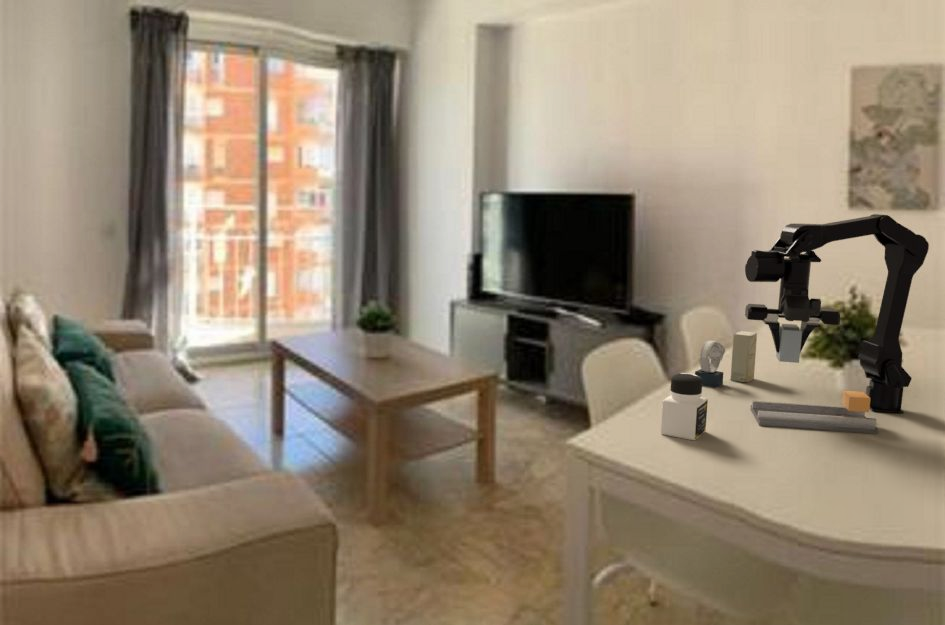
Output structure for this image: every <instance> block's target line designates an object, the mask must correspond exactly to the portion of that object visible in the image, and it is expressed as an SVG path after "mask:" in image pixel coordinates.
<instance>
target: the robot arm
mask: <svg viewBox="0 0 945 625" xmlns="http://www.w3.org/2000/svg"><path fill="white" fill-rule="evenodd" d="M871 235H873V236H874V238H875V240H876V241H877V242H878V243H879V244H880V245H881V246H883V247H884V262H885V265H886V269H887V277H886V281H885V285H884V290H883V296H882V298H881V303H880V308H879V312H878V317H877V321H876V325H875V331H874V334H873V336H872V337H871V338H870V339H869V341H866V340H862V342H861V344H860V352H859V354H858V356H857V358H858V359H859V365H860V367H861V368H862V370H863V371H864V375H865V378H866V379H869V385H867V386H866V388H865V389H866V390H865V394H866V395H868V396H869V397H870V408H869V410H871V411H872V412H883V413H895V414H896V413H897V414H904V413H905V412H904V409H902V404H903V396H904V388H907V387H909V386H910V383H911V382H912V376H910V374H909V373H908V372H907V371H906V370H905V369H904V367H903V366H902V365H903V351H902V348H901V343H900V340H899V339H900V334H901V332H902V331H901V330H902V325H903V321H904V317H905V312H906V309H907V304H908V301H909V300H908V299H909V295H910V290H911V286H912V281H913V278H914V275H915V274H916V273H917V272H918V270H920V268H921V267H922V266H923V265H924V262H925V260H926V257H927V254H928V253H929V247H930V246H929V245H930V244H929V242H928V240H927V239H926V237H925V236H923V235H921V234H916V233H915V232H914V231H913V230H911V229H909V228H908V227H906V226H904V225H902V224H901V223H899V222H898V221H896V220H895V219H894V218H892V217H891V216H890V215H887V214H877V213H876V214H875V213H873V214H871V215H868V216H863V217H862V216H861V217H857V218H850V219H845V220H839V221H833V222H827V223H823V224H822V223H789V224H786V225H785V226H784V227H783V229H782V231H781V233H780V236H779V237H778V239H777V240H776V241H775V242H774V243H773V245H771V247H770V248H769V250H763V251H762V250H759V249H752V250H751V255H750V256H749V257H748V259H747V261H746V263H745V266H744V272H745V277H746V279H747V281H748V282H750V283H777V282H779V280H780V284H779V295H778V306H777V308H768V306H766V305H765V304H761V303H748V304H746V306H745V312H744V313H745V314H744V316H745V318H746V319H747V320H749V321H750V320H751V321H762V322H763V323H764V324H765V325H768V328H769V330H770V332H771V336H772V340H773V345H774V348H775V351H776V352H779V347H780V341H779V327H780V326H781V322H779V321H778V319H779V318H781V319H785V321H787V322H793V321H796V322H800V327H799V329H801V330H802V338H801V348H800V354H801V352H802V351H803V348H804V347H805V344H806V342H807V340H808V339H809V337H810V335H811V334H812V332H813V331H814V330H815V329H817V328H821V324H820V323H821V322H822V323H823V325H831V326H840V325H841V324H840V323H841V313H840V312H839V311H837V310H836V309H834V308H833V307H832V308H831V307H830V308H828V307H822V300H821V299H820V298H814V297H813V298H810V297H809V286H810V277H811V276H810V274H811V264H812V263H821V262H822V259H821V258H820V257H819V256H818V255H817V254H816V252H815V251H814V250H816V249H819V248H822V247H824V246H825V245H827V244H829V243H832V242H837V241H843V240H849V239H855V238H860V237H865V236H867V237H868V236H871Z"/></svg>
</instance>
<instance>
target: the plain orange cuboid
mask: <svg viewBox="0 0 945 625" xmlns="http://www.w3.org/2000/svg"><path fill="white" fill-rule="evenodd" d="M842 392H843V393H842V400H841V402H842V403H841V404H842V407H845V408H846V409H847V410H848V411H859V412H865V413H869V412H870V397H869V396H868V395H866V392H864V391H857V390H856V391H855V390H843V391H842Z"/></svg>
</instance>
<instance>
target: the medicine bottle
mask: <svg viewBox="0 0 945 625" xmlns="http://www.w3.org/2000/svg"><path fill="white" fill-rule="evenodd" d="M669 392H670V393H669V394H670V395H668V397H666V398H665V399H663V400H662V408H661V424H660V434H661V435H664V436H668V437H669V436H670V437H674V438H679V439H684V440H690V441H696V440H698V438H700V437H701V436H702V435H703V434H704V433H705V432H706V429H707V428H706V426H707V415H708V403H709V402H708V400H709V399H708V398H707V397H703V396H702V392H703V385H702V379H701V377H699V376H697V375H695V373H688V372H687V373H686V372H685V373H684V372H681V373H675V374H673V375H672V376H671V377H670V391H669Z"/></svg>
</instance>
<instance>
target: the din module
mask: <svg viewBox="0 0 945 625" xmlns="http://www.w3.org/2000/svg"><path fill="white" fill-rule="evenodd" d="M801 338H802V330H801V329H800V327H799V326H798V324H792V323H791V324H790V323H781V325H780V327H779V341H780V347H779V352H776V354H775V357H776V358H777V360H778V362H783V363H798V364H799V363H800V356H801V353H800V348H801Z"/></svg>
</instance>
